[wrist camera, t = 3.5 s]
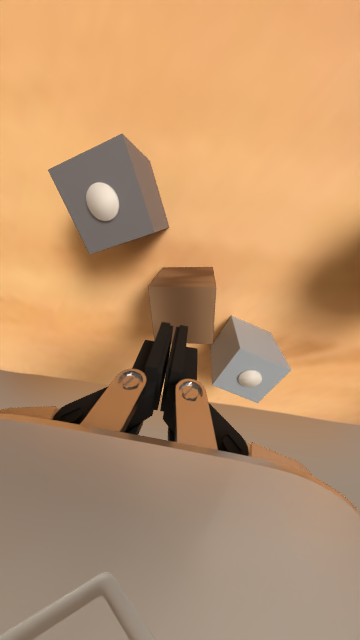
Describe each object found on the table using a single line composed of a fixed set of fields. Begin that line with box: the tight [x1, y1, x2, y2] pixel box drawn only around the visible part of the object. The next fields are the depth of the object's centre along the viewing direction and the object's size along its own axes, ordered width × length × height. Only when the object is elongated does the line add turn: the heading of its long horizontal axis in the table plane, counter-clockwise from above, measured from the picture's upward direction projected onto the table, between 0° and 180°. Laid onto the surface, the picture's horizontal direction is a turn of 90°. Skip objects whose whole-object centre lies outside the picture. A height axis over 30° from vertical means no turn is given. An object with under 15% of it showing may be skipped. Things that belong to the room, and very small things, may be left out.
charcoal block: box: [48, 134, 169, 254], centre depth 14 cm, size 5×5×6 cm
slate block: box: [210, 315, 291, 403], centre depth 20 cm, size 5×5×6 cm
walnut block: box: [148, 267, 216, 344], centre depth 18 cm, size 5×5×6 cm
